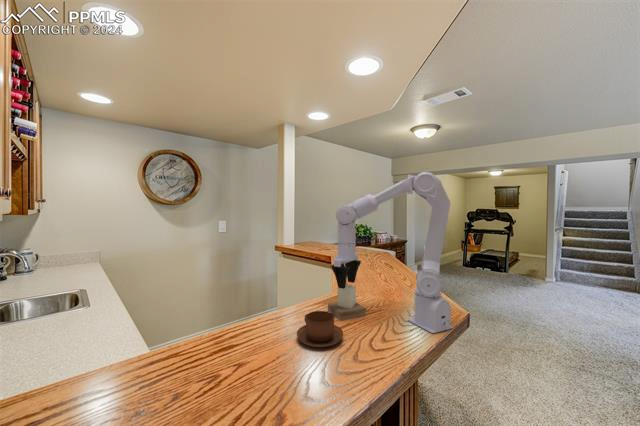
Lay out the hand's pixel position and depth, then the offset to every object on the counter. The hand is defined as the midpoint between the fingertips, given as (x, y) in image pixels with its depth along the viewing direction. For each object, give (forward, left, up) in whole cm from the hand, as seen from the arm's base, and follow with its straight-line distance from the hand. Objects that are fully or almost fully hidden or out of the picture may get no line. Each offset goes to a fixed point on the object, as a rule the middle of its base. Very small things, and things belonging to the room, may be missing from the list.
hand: (346, 285), depth 86 cm
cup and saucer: (-12, +15, -10) cm, 22 cm away
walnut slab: (0, 0, -10) cm, 10 cm away
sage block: (0, 0, -7) cm, 7 cm away
